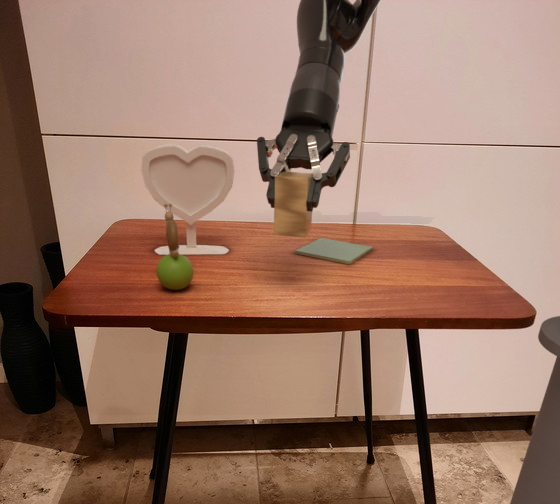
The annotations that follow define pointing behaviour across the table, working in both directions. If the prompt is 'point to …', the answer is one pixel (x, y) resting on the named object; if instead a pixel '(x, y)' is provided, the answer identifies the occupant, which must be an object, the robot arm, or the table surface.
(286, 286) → the table surface
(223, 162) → the heart sculpture
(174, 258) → the green ball with handle
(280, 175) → the birch block
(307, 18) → the robot arm
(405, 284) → the table surface
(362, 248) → the square tile
